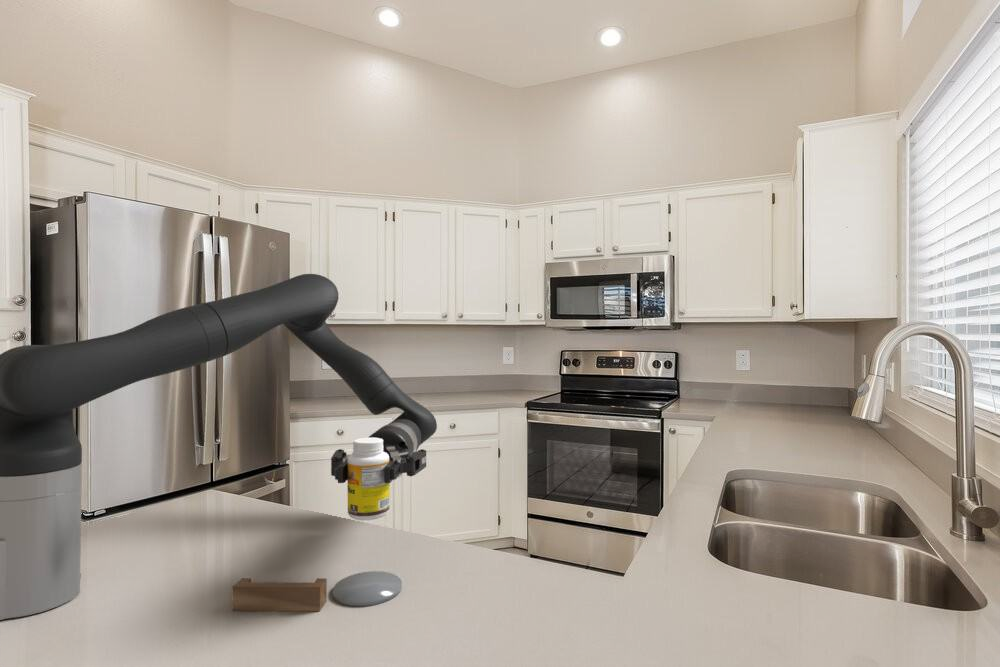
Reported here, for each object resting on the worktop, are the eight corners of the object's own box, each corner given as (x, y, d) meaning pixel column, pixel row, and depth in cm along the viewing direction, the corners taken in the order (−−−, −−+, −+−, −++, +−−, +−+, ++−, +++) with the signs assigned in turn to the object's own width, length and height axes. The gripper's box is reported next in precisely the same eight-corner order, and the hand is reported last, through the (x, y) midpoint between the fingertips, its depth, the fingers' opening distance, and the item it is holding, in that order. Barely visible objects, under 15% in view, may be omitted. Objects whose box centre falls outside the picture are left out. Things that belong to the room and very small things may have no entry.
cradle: (242, 601, 69) (242, 578, 69) (326, 601, 69) (326, 578, 69) (232, 610, 66) (232, 586, 67) (319, 611, 66) (320, 586, 66)
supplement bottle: (347, 510, 74) (346, 437, 74) (387, 506, 76) (387, 435, 76) (347, 524, 69) (347, 445, 69) (391, 519, 71) (391, 442, 71)
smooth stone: (362, 613, 66) (362, 608, 66) (319, 593, 71) (319, 588, 71) (415, 586, 73) (415, 582, 73) (372, 570, 78) (372, 566, 78)
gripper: (347, 425, 87) (309, 447, 70) (435, 425, 87) (418, 447, 70) (347, 471, 87) (309, 504, 70) (435, 471, 87) (418, 504, 70)
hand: (363, 475), depth 70 cm, fingers closed on supplement bottle, 5 cm apart
